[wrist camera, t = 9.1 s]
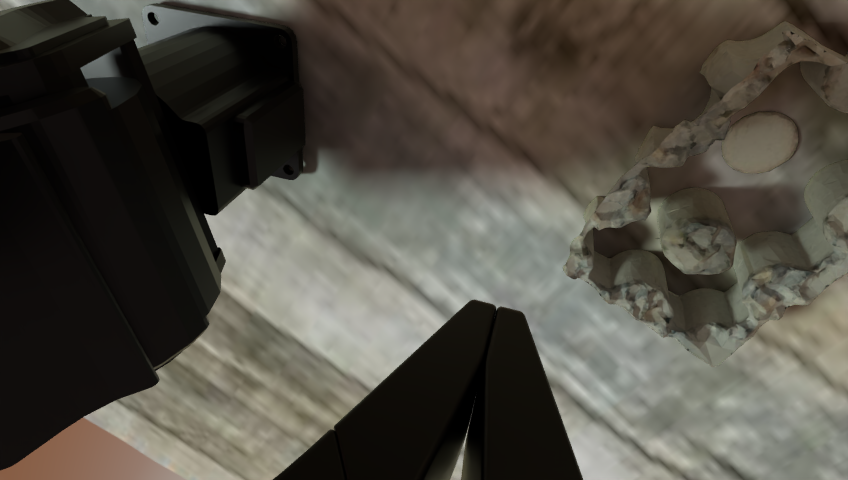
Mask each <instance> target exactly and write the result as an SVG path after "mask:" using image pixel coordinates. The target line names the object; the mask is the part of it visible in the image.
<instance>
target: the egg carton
mask: <svg viewBox="0 0 848 480" xmlns="http://www.w3.org/2000/svg"><path fill="white" fill-rule="evenodd" d="M799 61H800V69H801V74H802V76H803V78H804V79H805V81H806V82H807V83H808V84H809V85H810V87H811V88H812V89H813V90H814V91H815V92H816V93H817V94H818V95H819V96H820V97H821V98H822V99H823V100H824V101H825V103H826V104H827V105H828V106H830V107H832V108H834V109H836V110H838V111H841V112H844V113H848V52H847V55H846V56H843V55H841V54H839V53H836V52H834V51H832V50H830V49H828V48H826V47H824V46H822V45H821V44H820V43H818V42H817V41H816V40H814V39H813V38H811V37H810V36H808V35H807V34H806V33H805V32H803V31H802V30H800V29H798V28H797V27H795V26H794V25H792V24H790V23H788V22H786V21H785V22H782V23H781V24H779V25H778V26H776V27H775V28H773V29H772V30H770V31H769V32H767V33H765V34H764V35H762V36H760V37H757V38H755V39H752V40H746V41H733V40H726V41H724V42H723V43H721V44H720V45H719V46H717V47H716V48H715V49H714V50H713V52H712V53H711V54H710V55H709V57H708V58H707V59H706V61H705V62H704V63H703V65H702V68H701V71H700V72H699V73H702V74H703V75H704V77H705V78H706V80H707V82H708V84H709V85H710V86H711V96H710V99H709V101H708V104H707V106H706V108H705V109H704V111H703V112H702V114H701V115H700V116H699V117H697V118H696V119H695V120H694V121H692V122H689V121H687V120H686V119H685V120H684V121H682V122H681V123H680V124H678V125H677V126H676V127H675V128H659V127H657V126H652V127H651V129H650V130H649V132H648V134H647V136H646V138H645V140H644V142H643V144H642V145H641V147H640V148H639V149H638V153H637V155H636V157H635V161H636V163H637V164H636V165H635V166H633V167H632V168H631V169H630V170H629V171H628V172H626V173H625V174H624V175H623V176H622V177H621V178H620V179H619V180H618V181H617V183H616V184H615V185H614V187H613V188H612V189H611V190H610V192H609V193H608V194H607V196H606V197H605V198H604V197H600V196H597V197H596V198H595V199H594V200H593V201H592V202H590V204H589V205H588V206H587V208H586V210H585V212H584V215H583V216H584V219H585V222H586V224H585V226H584V228H583V231H582V233H581V234H580V235H579V237H577V238H575V239H574V240H573V241H572V242H571V245H570V256H569V258H568V260H567V262H566V265H564V266H563V270H564V272H565V273H566V275H567V276H569V277H571V278H573V279H577V278H581V279H582V280H584V281H586V282H587V283H589V284H590V285H592V286H593V287H594V288H595V289H596V290H597V291H598V292H599V294H600V296H601V297H602V298H603V299H604V300H605V301H606V302H607V303H609V304H616V305H618V306H620V307H622V308H623V309H625V310H626V311H627V312H628V313H629V314H631V315H632V316H633V317H634V318H635V319H636V320H638V321H641V322H643V323H645V324H646V325H647V326H649V327H650V328H651V329H653V330H654V331H655V332H657V333H658V334H659V335H660V336H661V337H662V338H664V337H672V338H674V339H676V340H677V341H678V342H679V343H680V344H681V345H682V346H683V347H684V348H685V349H687V350H688V351H689V352H691V353H692V354H693V355H695V356H696V357H698V358H699V359H701V360H703V361H704V362H706V363H707V364H709V365H710V366H712V367H716V366H719V365H721V364H722V363H723V362H724V361H725V360H726V359H727V358H728V357H729V356H730V355H731V354H732V353H734V352H735V351H736V350H737V349H738V348H739V347H740V346H742V345H743V344H744V343H745V342H746V341H748V340H749V339H750V338H752V337H753V336H754V335H755V333H756V332H757V330H758V329H759V327H760V326H762V325H763V324H764V323H766V322H767V321H769V320H779V319H780V318H781V317H782V316H783V314H784V311H785V309H786V308H787V307H790V306H792V305H809V304H810V303H811V302H812V301H813V300H814V299H815V298H816V297H817V296H818V295H819V294H820V293H821V292H822V291H823V290H824V289H825V288H826V287H827V286H829V285H830V284H831V283H833V282H834V281H835V280H837V279H838V278H840V277H842V276H843V275H845V274H847V273H848V160H842V161H839V162H835V163H833V164H830V165H828V166H826V167H824V168H823V169H821V170H819V171H818V172H816V173H815V175H814V176H813V177H812V178H811V179H810V181H809V182H808V184H807V186H806V187H805V192H804V199H805V204H806V206H807V207H808V209H809V211H810V212H811V214H812V216H813V217H812V218H811V219H810V220H809V221H808V222H807V223H806V224H805V225H803V226H802V227H801V228H800V229H799V230H798V231H796V232H795V233H794V234H791V235H790V234H786V233H782V232H776V231H766V232H759V233H756V234H753V235H751V236H749V237H747V238H746V239H744V240H743V241H742V242H740V243H739V244H738V245H737V246H736V237H735V234H734V231H733V228H732V225H731V223H730V220H729V217H728V215H727V212H726V209H725V207H724V204H723V201H722V200H721V199H720V198H719V197H718V196H717V195H716V194H715V193H713V192H711V191H709V190H706V189H701V188H687V189H683V190H680V191H677V192H675V193H673V194H671V195H670V196H668V197H667V198H666V199H665V200H664V201H663V202H662V204H661V206H660V208H659V210H658V216H657V219H658V225H659V233H660V238H657V239H660V242H661V246H662V250H663V253H664V255H665V256H666V257H667V258H668V260H669V261H670V262H671V263H672V264H673V265H674V266H676V267H677V268H678V269H679V270H681V271H682V272H683V273H685V274H704V275H711V274H719V273H722V272H724V271H726V270H729V269H730V268H731V267H732V265H733V267H734V270H735V273H736V276H737V279H738V282H737V283H736V284H734V285H733V286H732V287H731V288H730V289H728V290H727V291H726V292H721V291H718V290H714V289H706V288H700V289H696V290H692V291H689V292H686V293H684V294H682V295H676V294H674V293H673V292H671V291H669V290H668V288H667V282H666V274H665V271H664V268H663V265H662V262H661V261H660V259H659V258H658V257H657V256H656V255H654V254H653V253H651V252H648V251H644V250H636V249H634V250H627V251H623V252H621V253H619V254H617V255H615V256H614V257H612V258H607V257H605V256H603V255H601V254H599V253H597V252H595V251H594V233H593V227H595V228H597V229H598V230H601V229H603V228H607V227H612V228H621V227H623V226H625V225H627V224H629V223H631V222H634V221H638V220H646V219H647V217H648V216H649V214H650V212H651V208H650V193H651V189H650V182H649V177H648V171H647V167H649V166H653V167H660V168H662V167H680V166H683V164H684V163H685V161H686V159H687V157H688V156H695V155H697V154H700V153H703V152H706V151H707V150H708V148H709V146H710V145H712V144H713V143H714V142H715V140H723V141H722V156H723V158H724V160H725V161H726V163H727V164H728V165H729V166H730V167H731V168H733V169H734V170H737V171H740V172H743V173H751V174H757V173H762V172H767V171H770V170H772V169H774V168H776V167H777V166H779V165H781V164H782V163H784V162H786V161H787V160H789V159H790V158H791V156H792V155H793V154H794V152H795V149H796V147H797V144H798V132H797V127H796V125H795V124H794V122H793V121H792V120H791V119H790V118H788V117H787V116H786V115H784V114H781V113H778V112H756V113H754V114H751V115H748V116H745V117H743V118H741V119H740V120H739V121H737V122H736V123H734V124H733V125H732V126H731V127H730V129H729V131H728V127H729V123H730V122H731V121H730V116H732V115H733V114H735V113H736V112H738V111H740V110H741V109H743V108H745V107H746V106H747V105H748V104H750V103H751V102H752V101H753V100H754V99H755V98H757V97H758V96H759V95H760V94H761V93H762V92H763V91H764V90H765V88H766V87H767V86H768V85H769V84H770V83H771V82H772V81H773V79H774V78H775V77H776V76H777V75H778V74H779V73H781V72H782V71H783V70H784V69H786V68H787V67H789V66H791V65H793V64H795V63H797V62H799ZM727 131H728V133H727Z"/></svg>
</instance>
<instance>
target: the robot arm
mask: <svg viewBox="0 0 848 480" xmlns="http://www.w3.org/2000/svg"><path fill="white" fill-rule="evenodd" d="M154 13H155V14H156V15H157V16H158V19H159V22H158V21H157V20H156V19H155V16H154ZM142 18H143V23H144V28H145V33H146V38H147V42H148V45H146V46H143V47H141V48H138V49H137V46H136V44H135V41H134V39H135V38H136V34H135V32H134V29H133V27H132V24H131V22H130V19H129V18H126V19H116V20H107V18H106V16H99V17H92V15H91V14H90V15H87V14H86V13H85V12H84V11H82V10H81V9H80V8H79V7H77V6H76V5H75V4H73V3H72V2H71V1H70V0H46V1H41V2H37V3H33V4H28V5H24V6H19V7H15V8H11V9H7V10H3V11H0V470H3V469H6V468H8V467H11V466H13V465H14V464H16V463H18V462H19V461H20V460H22V459H23V458H25V457H26V456H27V455H29V454H30V453H31V452H33V451H34V450H36V449H37V448H39V447H40V446H42V445H43V444H44V443H46V442H47V441H48V440H50V439H51V438H53V437H54V436H56V435H57V434H58V433H60V432H61V431H62V430H64V429H66V428H67V427H68V426H70V425H72V424H73V423H75V422H76V421H78V420H79V419H81V418H83V417H84V416H86V415H88V414H90V413H92V412H94V411H96V410H98V409H100V408H102V407H103V406H105V405H107V404H109V403H111V402H113V401H115V400H117V399H120V398H123V397H125V396H128V395H131V394H134V393H137V392H140V391H142V390H145V389H148V388H151V387H153V386H155V385H156V384H157V383H158V382H159V377H158V375H157V373H156V370H158V369H159V368H161V367H163V366H164V365H166V364H167V363H169V362H170V361H172V360H173V359H174V358H175V357H176V356H178V355H179V354H180V353H181V352H182V351H183V350H185V349H186V348H188V347H189V346H190V345H191V344H192V343H193V342H194V341H195V340H196V339H197V338H198V337H199V336H200V335H201V334H202V333H203V332H204V331H205V330H206V328H207V327H208V325H209V319H208V317H207V314H208V313H209V312H210V310H211V308H212V306H213V305H214V303H215V301H216V299H217V297H218V296H219V294H220V289H221V272H222V269H223V267H224V265H225V262H226V260H225V257H224V255H223V252H222V250H221V248H219V247H217V245H216V243H215V240H214V238H213V235H212V233H211V230H210V228H209V225H208V223H207V220H206V218H205V215H204V214H208V215H217V214H218V213H219V212H220V211H221V210H223V209H224V208H225V207H226V206H227V205H228V204H229V203H230V202H232V201H233V200H234V199H235V198H236V197H237V196H238V195H240V194H241V193H242V192H243V191H244V190H245V189H246V188H248V189H252V190H254V189H256V188H257V187H258V186H259V185H261V184H262V183H263V182H264V181H265V180H266V179H267V178H268V177H269V176H275V177H279V178H283V179H288V180H294V179H296V178H297V177H298V176H299V175H300V174H301V173H302V171H303V157H302V147H303V146H304V145H305V122H304V99H303V88H302V87H301V85H300V84H299V73H298V52H297V39H296V35H295V34H294V32H293V31H292V30H291V29H290V28H289V27H286V26H283V25H278V24H272V23H266V22H261V21H255V20H249V19H243V18H238V17H232V16H226V15H221V14H215V13H209V12H204V11H198V10H192V9H187V8H181V7H175V6H169V5H164V4H158V3H156V4H150V5H147V6H145V7H144V8H143V10H142ZM279 35H281V36H283V37H284V38H285V40H286V46H284V45H282V44H281V42H280V40H279ZM288 165H290V166H291V167H292V168H293V170H294V171H292V170H290V169H289V168H288ZM475 397H476V398H475ZM472 410H473V411H472ZM471 414H472V415H471ZM470 418H471V419H470ZM469 422H470V424H469ZM468 426H469V428H468ZM467 430H468V433H467ZM466 433H467V438H466V444H465V451H464V459H463V468H462V477H461V480H583V478H582V475H581V472H580V469H579V466H578V464H577V461H576V458H575V455H574V452H573V450H572V447H571V444H570V441H569V438H568V436H567V433H566V430H565V427H564V424H563V421H562V419H561V416H560V413H559V410H558V407H557V405H556V402H555V399H554V396H553V393H552V391H551V388H550V385H549V382H548V379H547V377H546V374H545V371H544V368H543V365H542V362H541V360H540V357H539V354H538V351H537V348H536V346H535V343H534V340H533V337H532V334H531V332H530V329H529V326H528V323H527V320H526V317H525V315H524V314H523V313H522V312H521V311H517V310H514V309H510V308H506V307H499V308H497V311H496V306H495V305H493V304H490V303H486V302H482V301H478V300H471V301H469V302H468V303H467V304H466V305H465V306H464V307H463V308H462V309H461V310H459V311H458V312H457V313H456V314H455V315H454V316H453V317H452V318H451V319H450V320H449V321H447V322H446V323H445V324H444V325H443V326H442V327H441V328H440V329H439V330H438V331H437V332H436V333H434V334H433V335H432V336H431V337H430V338H429V339H428V340H427V341H426V342H425V343H424V344H423V345H421V346H420V347H419V348H418V349H417V350H416V351H415V352H414V353H413V354H412V355H411V356H410V357H408V358H407V359H406V360H405V361H404V362H403V363H402V364H401V365H400V366H399V367H398V368H397V369H395V370H394V371H393V372H392V373H391V374H390V375H389V376H388V377H387V378H386V379H385V380H383V381H382V382H381V383H380V384H379V385H378V386H377V387H376V388H375V389H374V390H373V391H372V392H370V393H369V394H368V395H367V396H366V397H365V398H364V399H363V400H362V401H361V402H360V403H359V404H357V405H356V406H355V407H354V408H353V409H352V410H351V411H350V412H349V413H348V414H347V415H346V416H344V417H343V418H342V419H341V420H340V421H339V422H338V423H337V424H336V425H335V426H334V430H332V429H331V430H329V431H328V432H327V433H326V434H325V435H323V436H322V437H321V438H320V439H319V440H318V441H317V442H316V443H315V444H314V445H313V446H312V447H310V448H309V449H308V450H307V451H306V452H305V453H304V454H302V455H301V456H300V457H299V458H298V459H297V460H295V461H294V462H293V463H292V464H291V465H290V466H289V467H287V468H286V469H285V470H284V471H283V472H282V473H280V474H279V475H278V476H277V477H275V478H274V479H273V480H450V478H451V476H452V473H453V470H454V468H455V465H456V463H457V460H458V457H459V455H460V452H461V449H462V446H463V443H464V440H465V437H466Z"/></svg>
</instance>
